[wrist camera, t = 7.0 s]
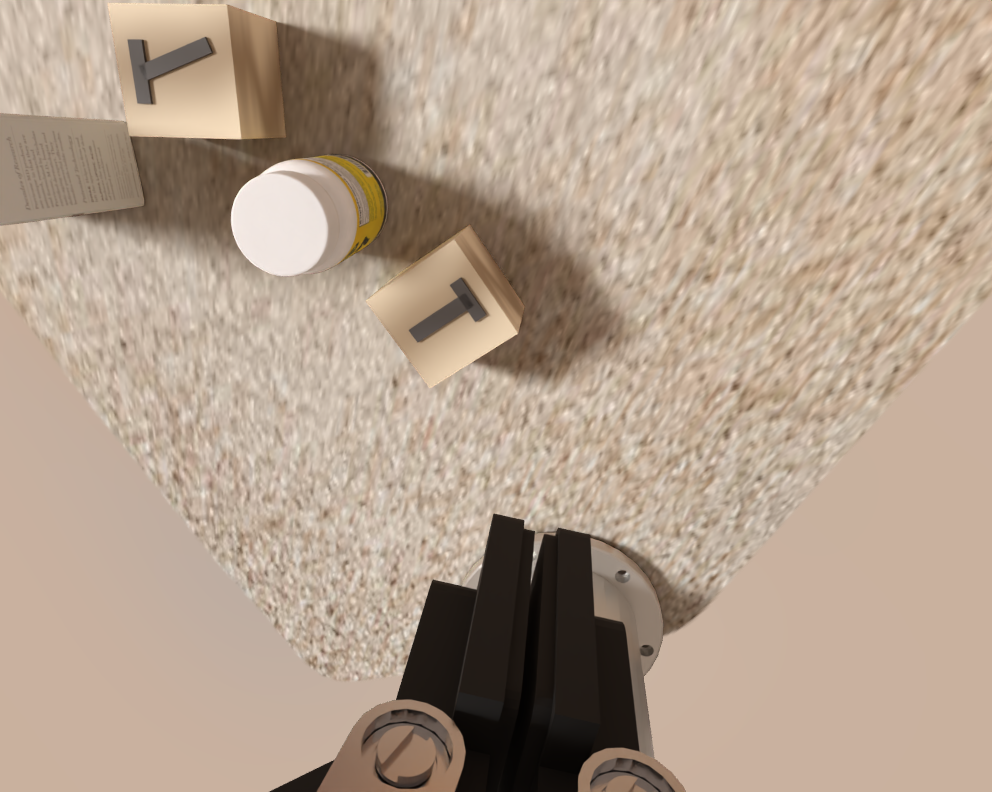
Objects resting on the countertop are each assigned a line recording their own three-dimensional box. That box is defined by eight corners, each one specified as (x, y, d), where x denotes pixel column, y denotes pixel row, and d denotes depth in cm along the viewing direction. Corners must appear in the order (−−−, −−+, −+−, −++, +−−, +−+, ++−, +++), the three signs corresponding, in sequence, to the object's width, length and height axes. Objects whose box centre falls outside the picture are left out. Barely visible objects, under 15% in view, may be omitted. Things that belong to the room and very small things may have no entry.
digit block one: (524, 306, 36) (518, 334, 31) (447, 355, 37) (429, 389, 32) (470, 224, 34) (453, 240, 29) (392, 278, 36) (364, 302, 31)
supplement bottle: (318, 262, 36) (248, 300, 28) (282, 170, 34) (198, 184, 26) (403, 235, 35) (356, 267, 27) (370, 140, 33) (310, 145, 25)
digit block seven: (286, 137, 34) (239, 139, 29) (189, 134, 34) (127, 136, 29) (276, 22, 32) (224, 3, 27) (173, 20, 32) (104, 2, 27)
